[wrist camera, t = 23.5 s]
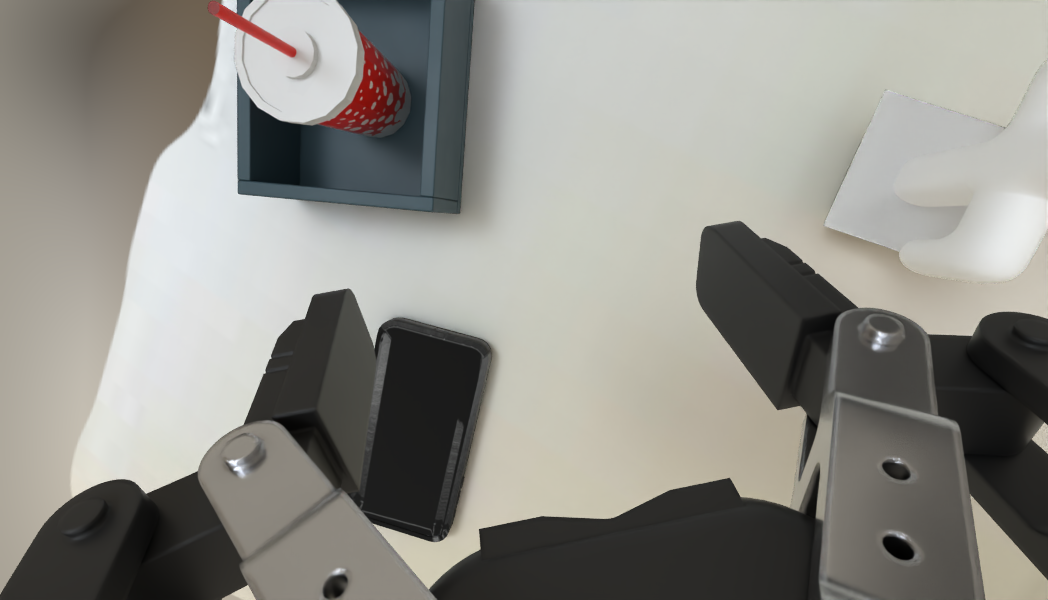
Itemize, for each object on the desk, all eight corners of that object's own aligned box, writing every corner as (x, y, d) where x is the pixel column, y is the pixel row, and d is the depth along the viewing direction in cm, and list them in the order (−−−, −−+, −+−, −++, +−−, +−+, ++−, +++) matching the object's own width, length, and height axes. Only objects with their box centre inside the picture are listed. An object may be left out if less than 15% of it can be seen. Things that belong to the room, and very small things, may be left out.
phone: (343, 514, 36) (380, 316, 34) (350, 505, 37) (387, 313, 35) (446, 546, 35) (493, 347, 33) (451, 536, 37) (496, 343, 34)
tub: (298, -17, 32) (236, -68, 27) (475, -10, 31) (449, -63, 25) (295, 198, 34) (236, 194, 29) (460, 213, 33) (432, 212, 27)
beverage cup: (435, 65, 31) (310, -59, 17) (407, 163, 32) (270, 118, 18) (344, 36, 32) (153, -108, 18) (320, 133, 33) (124, 68, 19)
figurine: (788, 242, 31) (969, 260, 16) (857, 86, 29) (1133, -55, 14) (905, 283, 30) (1206, 340, 15) (984, 127, 28) (1408, 22, 14)
